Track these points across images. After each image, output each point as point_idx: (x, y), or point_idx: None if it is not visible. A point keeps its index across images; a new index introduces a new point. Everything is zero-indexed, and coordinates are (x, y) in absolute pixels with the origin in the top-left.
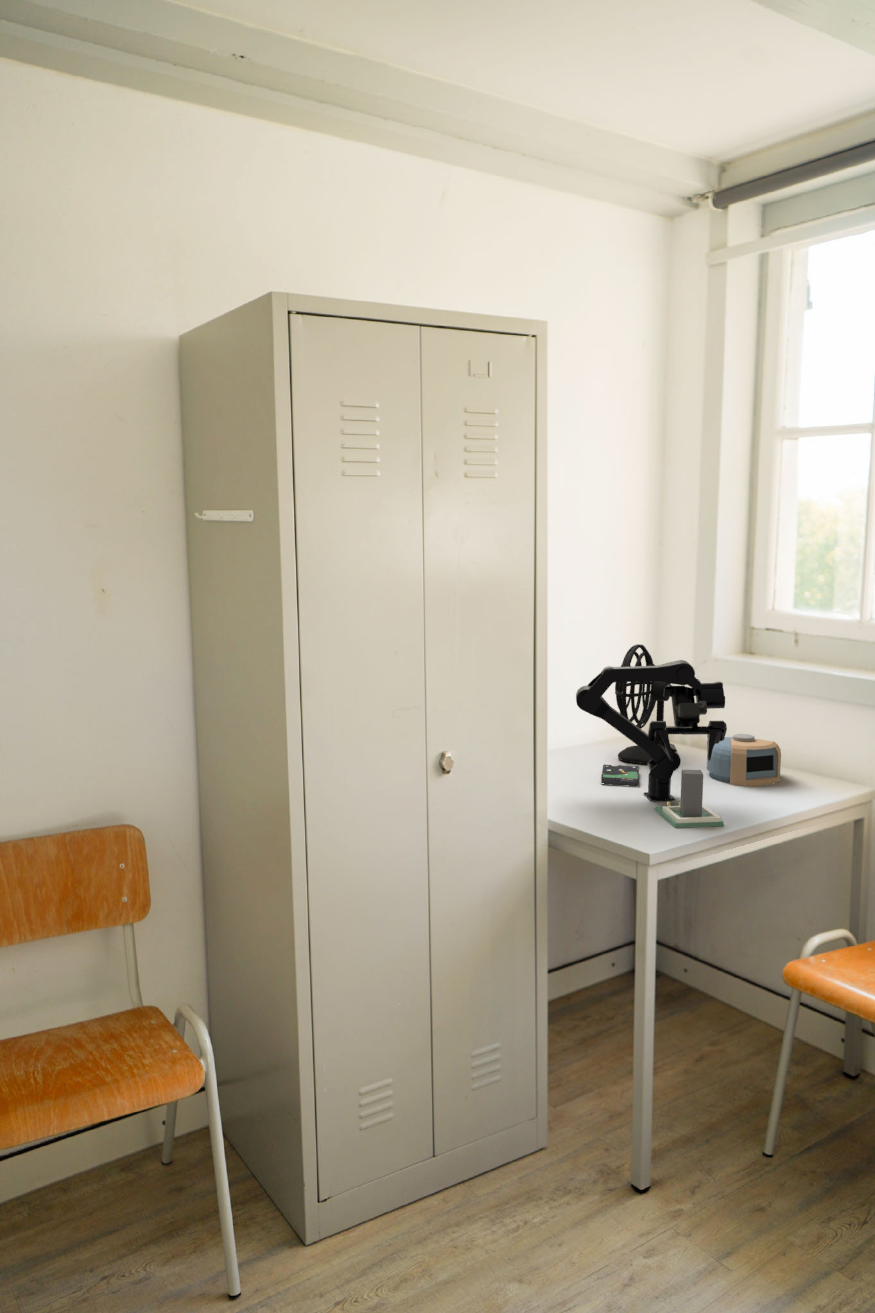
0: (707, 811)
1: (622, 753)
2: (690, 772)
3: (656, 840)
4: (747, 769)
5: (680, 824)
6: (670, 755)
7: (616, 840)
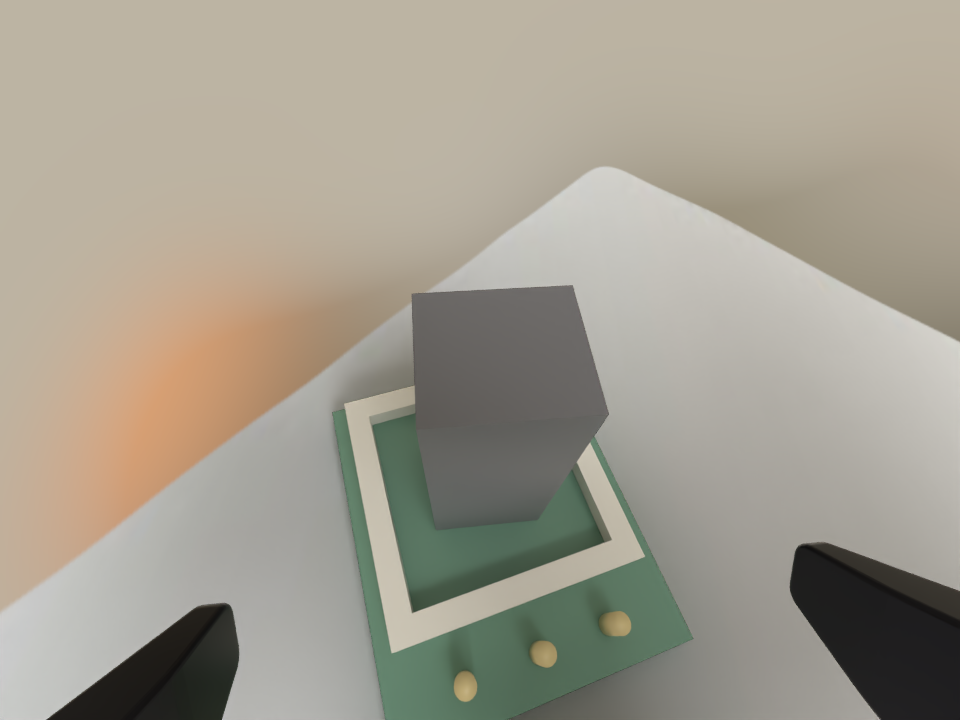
0: (389, 507)
1: None
2: (521, 323)
3: (602, 239)
4: None
5: None
6: (870, 563)
7: (719, 225)
